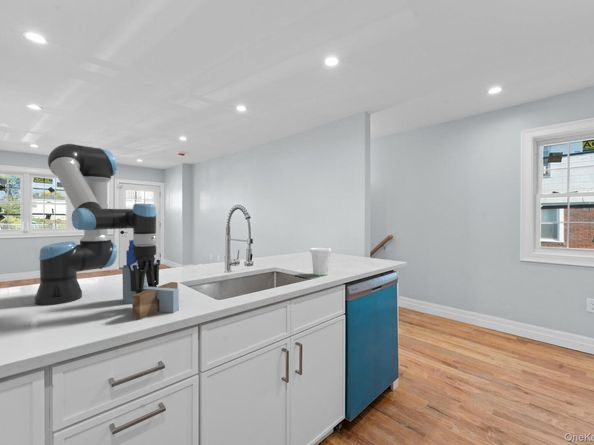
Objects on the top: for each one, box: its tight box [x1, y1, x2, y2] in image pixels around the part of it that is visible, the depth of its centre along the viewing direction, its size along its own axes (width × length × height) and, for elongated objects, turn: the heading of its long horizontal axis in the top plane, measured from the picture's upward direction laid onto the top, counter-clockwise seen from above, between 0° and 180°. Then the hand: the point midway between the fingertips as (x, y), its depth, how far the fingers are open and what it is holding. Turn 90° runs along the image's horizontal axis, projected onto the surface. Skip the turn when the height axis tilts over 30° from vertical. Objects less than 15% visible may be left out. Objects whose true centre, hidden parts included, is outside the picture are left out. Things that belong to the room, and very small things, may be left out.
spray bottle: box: [121, 239, 148, 305], centre depth 120 cm, size 9×9×25 cm
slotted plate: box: [139, 286, 180, 314], centre depth 108 cm, size 16×3×8 cm, turn 76°
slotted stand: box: [131, 281, 179, 320], centre depth 108 cm, size 3×20×8 cm, turn 166°
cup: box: [309, 247, 332, 277], centre depth 172 cm, size 12×12×15 cm
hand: (145, 307), depth 109 cm, fingers open, 4 cm apart
